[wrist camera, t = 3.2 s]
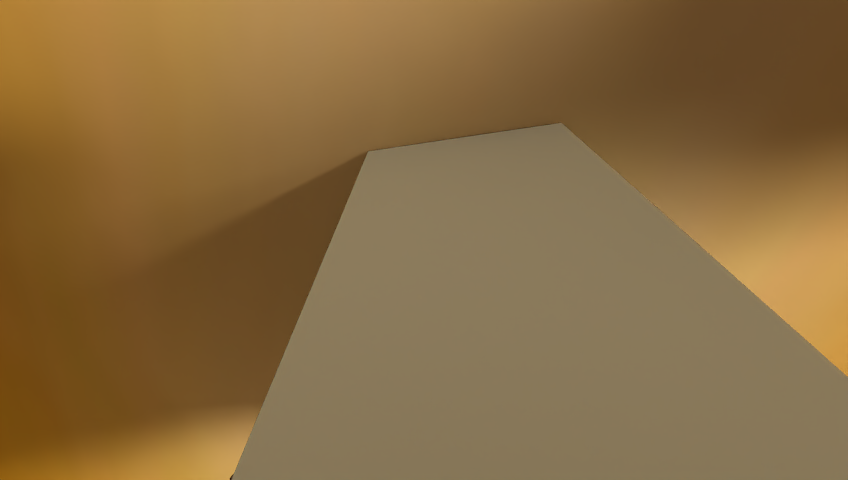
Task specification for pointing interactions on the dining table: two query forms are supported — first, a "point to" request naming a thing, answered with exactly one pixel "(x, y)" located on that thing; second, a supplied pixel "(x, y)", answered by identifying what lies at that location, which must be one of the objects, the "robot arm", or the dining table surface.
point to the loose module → (535, 336)
